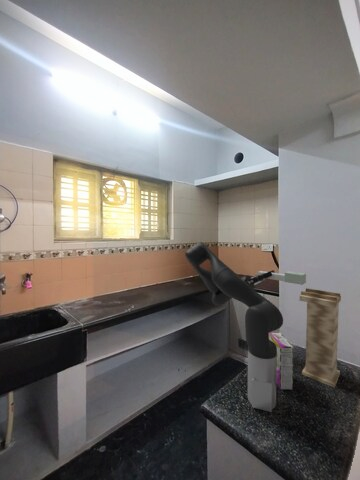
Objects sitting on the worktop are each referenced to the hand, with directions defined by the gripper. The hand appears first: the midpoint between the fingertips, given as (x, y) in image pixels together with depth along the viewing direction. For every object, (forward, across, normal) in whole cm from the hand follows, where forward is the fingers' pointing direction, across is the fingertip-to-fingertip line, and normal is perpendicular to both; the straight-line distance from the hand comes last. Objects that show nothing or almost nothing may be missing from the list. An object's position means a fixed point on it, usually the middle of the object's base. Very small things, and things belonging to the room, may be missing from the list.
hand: (272, 272), depth 101 cm
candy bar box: (-11, -15, +38) cm, 43 cm away
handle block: (+1, 0, +4) cm, 4 cm away
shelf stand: (-2, 0, +43) cm, 43 cm away
